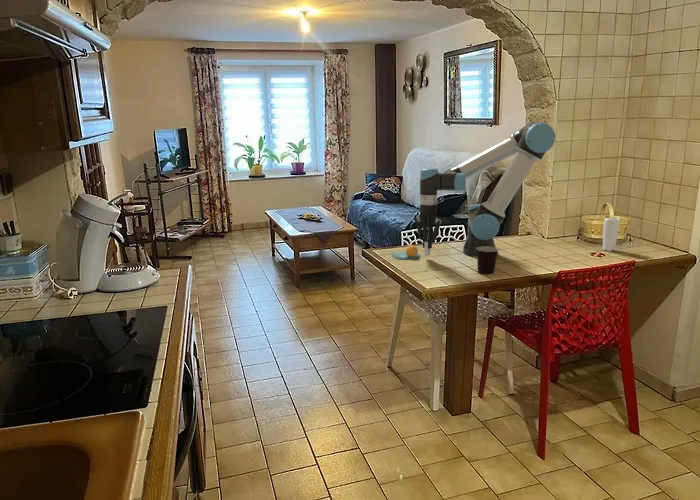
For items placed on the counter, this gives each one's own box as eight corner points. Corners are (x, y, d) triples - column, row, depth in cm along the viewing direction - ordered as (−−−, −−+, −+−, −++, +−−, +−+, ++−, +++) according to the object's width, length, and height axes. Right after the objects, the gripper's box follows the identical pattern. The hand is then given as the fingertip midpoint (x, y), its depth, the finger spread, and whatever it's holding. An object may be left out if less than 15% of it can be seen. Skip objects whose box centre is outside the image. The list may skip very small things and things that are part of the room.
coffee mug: (493, 276, 212) (494, 252, 209) (472, 273, 216) (473, 250, 214) (501, 269, 221) (502, 246, 219) (481, 266, 226) (482, 243, 223)
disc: (425, 254, 246) (425, 254, 246) (411, 261, 235) (411, 260, 235) (400, 250, 253) (400, 250, 253) (386, 257, 243) (386, 256, 243)
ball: (406, 247, 246) (412, 257, 245) (401, 250, 241) (407, 260, 240) (415, 242, 242) (421, 252, 242) (410, 244, 238) (416, 254, 237)
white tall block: (617, 249, 249) (621, 218, 245) (615, 252, 244) (619, 221, 240) (601, 247, 253) (605, 217, 249) (599, 250, 247) (603, 219, 243)
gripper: (411, 203, 232) (410, 255, 238) (437, 206, 225) (436, 259, 231) (419, 201, 238) (418, 251, 244) (445, 203, 231) (444, 255, 237)
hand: (427, 255), depth 237 cm, fingers closed
